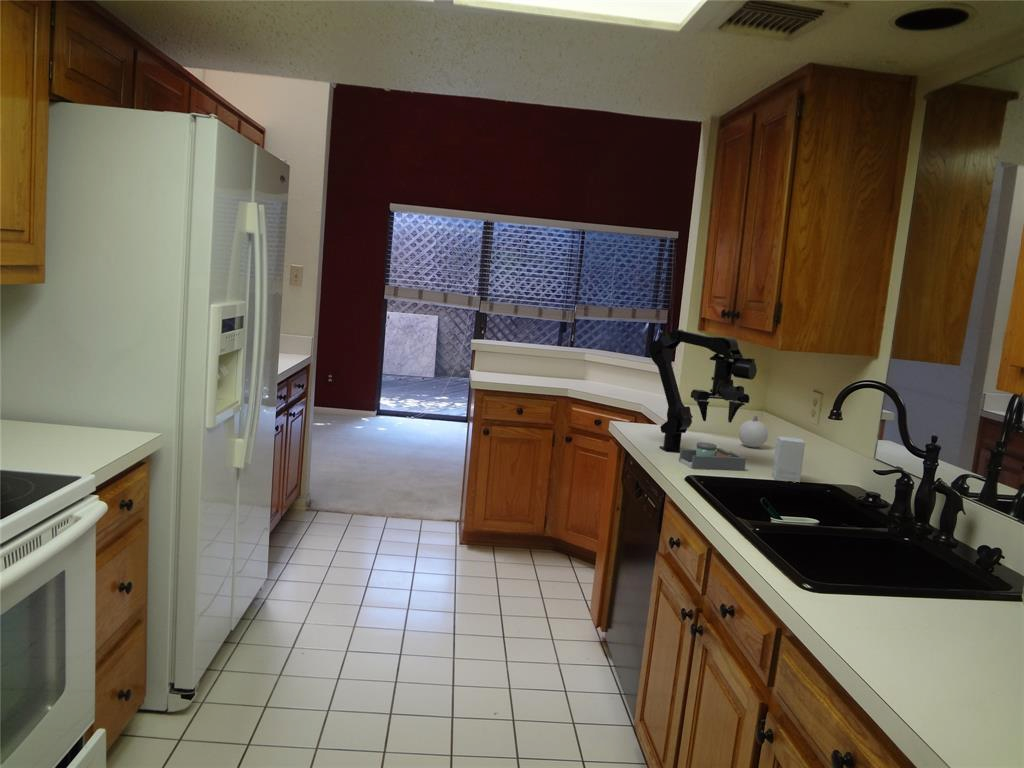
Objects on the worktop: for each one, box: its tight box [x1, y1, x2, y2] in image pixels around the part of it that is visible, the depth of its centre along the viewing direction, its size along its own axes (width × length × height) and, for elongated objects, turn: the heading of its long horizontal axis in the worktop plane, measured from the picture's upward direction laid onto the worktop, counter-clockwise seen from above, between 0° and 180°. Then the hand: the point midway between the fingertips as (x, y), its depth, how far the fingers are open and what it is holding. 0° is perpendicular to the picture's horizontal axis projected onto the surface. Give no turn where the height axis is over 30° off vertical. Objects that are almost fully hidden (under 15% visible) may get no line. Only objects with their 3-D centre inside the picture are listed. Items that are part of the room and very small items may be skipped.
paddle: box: [716, 447, 732, 457], centre depth 246 cm, size 7×2×5 cm, turn 13°
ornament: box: [738, 415, 769, 448], centre depth 285 cm, size 10×10×12 cm
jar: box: [695, 441, 718, 456], centre depth 244 cm, size 6×6×7 cm
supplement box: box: [771, 435, 806, 483], centre depth 235 cm, size 7×7×13 cm
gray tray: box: [678, 448, 747, 471], centre depth 245 cm, size 10×18×4 cm, turn 103°
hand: (717, 421), depth 253 cm, fingers open, 9 cm apart
